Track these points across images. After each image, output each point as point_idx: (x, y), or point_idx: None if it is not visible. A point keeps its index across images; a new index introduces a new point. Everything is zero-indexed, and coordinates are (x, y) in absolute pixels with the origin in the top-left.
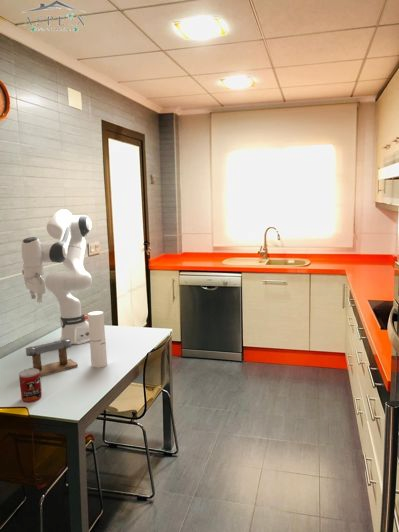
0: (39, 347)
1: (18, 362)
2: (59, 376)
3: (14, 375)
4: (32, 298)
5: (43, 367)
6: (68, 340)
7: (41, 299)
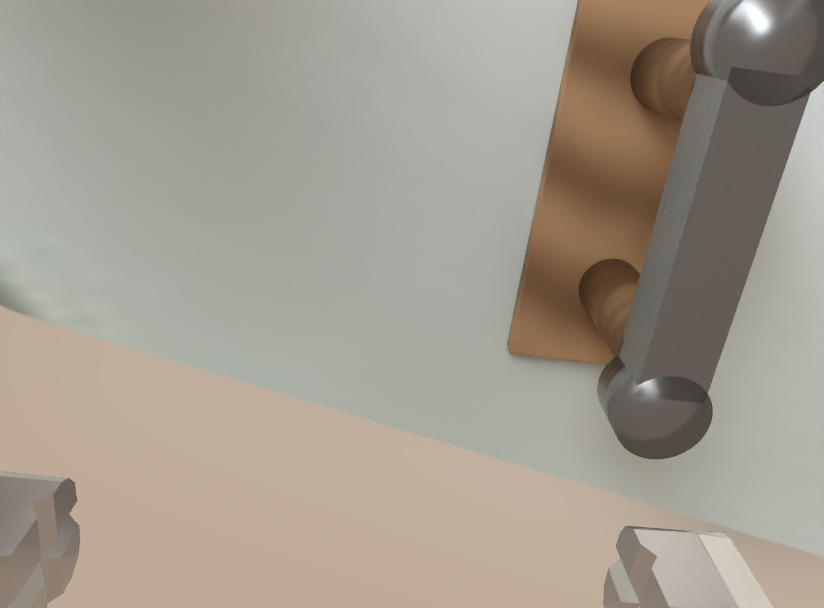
0: (719, 357)
1: (258, 292)
2: (813, 202)
3: (508, 404)
4: (70, 572)
5: (591, 232)
6: (817, 18)
7: (755, 590)
